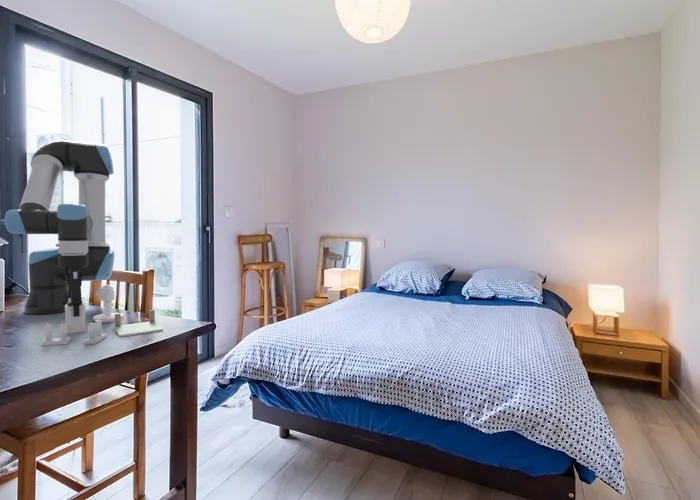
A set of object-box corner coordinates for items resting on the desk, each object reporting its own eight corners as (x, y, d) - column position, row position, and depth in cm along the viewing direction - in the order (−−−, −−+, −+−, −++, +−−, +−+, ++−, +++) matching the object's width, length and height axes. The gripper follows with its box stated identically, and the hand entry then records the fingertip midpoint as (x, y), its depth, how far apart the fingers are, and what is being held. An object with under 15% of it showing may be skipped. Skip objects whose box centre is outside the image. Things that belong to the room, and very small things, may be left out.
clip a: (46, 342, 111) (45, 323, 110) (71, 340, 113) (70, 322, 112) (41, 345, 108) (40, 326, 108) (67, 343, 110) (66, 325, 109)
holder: (114, 327, 127) (113, 313, 126) (154, 322, 134) (154, 309, 134) (119, 337, 117) (119, 321, 117) (162, 330, 124) (162, 316, 124)
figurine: (109, 323, 132) (108, 287, 131) (86, 321, 134) (85, 286, 133) (129, 316, 141) (128, 283, 140) (107, 314, 143) (107, 282, 142)
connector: (65, 329, 123) (64, 302, 123) (84, 327, 126) (83, 301, 126) (66, 333, 119) (65, 305, 119) (85, 331, 122) (85, 304, 122)
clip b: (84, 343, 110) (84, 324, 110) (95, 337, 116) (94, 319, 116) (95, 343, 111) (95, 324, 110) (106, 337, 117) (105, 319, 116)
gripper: (57, 252, 129) (59, 316, 130) (59, 257, 109) (61, 333, 110) (84, 251, 133) (86, 313, 134) (91, 256, 113) (93, 329, 115)
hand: (75, 322), depth 122 cm, fingers open, 13 cm apart
